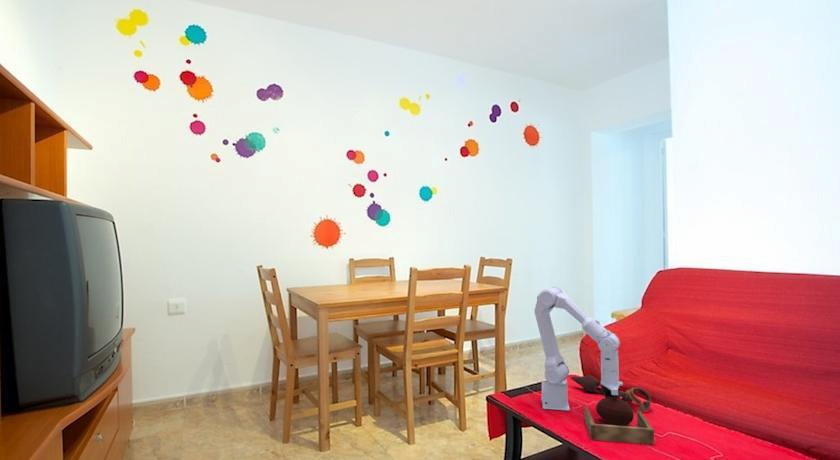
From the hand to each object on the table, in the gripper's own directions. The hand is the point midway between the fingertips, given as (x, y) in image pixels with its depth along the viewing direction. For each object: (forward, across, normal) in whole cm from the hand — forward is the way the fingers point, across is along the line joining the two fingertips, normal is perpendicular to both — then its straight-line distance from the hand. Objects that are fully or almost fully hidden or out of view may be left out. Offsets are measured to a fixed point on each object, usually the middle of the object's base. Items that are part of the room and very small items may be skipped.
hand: (610, 408), depth 150 cm
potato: (+4, -5, 0) cm, 6 cm away
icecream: (+4, +26, +3) cm, 26 cm away
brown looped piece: (+4, +11, -10) cm, 15 cm away
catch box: (+3, -10, 0) cm, 11 cm away
